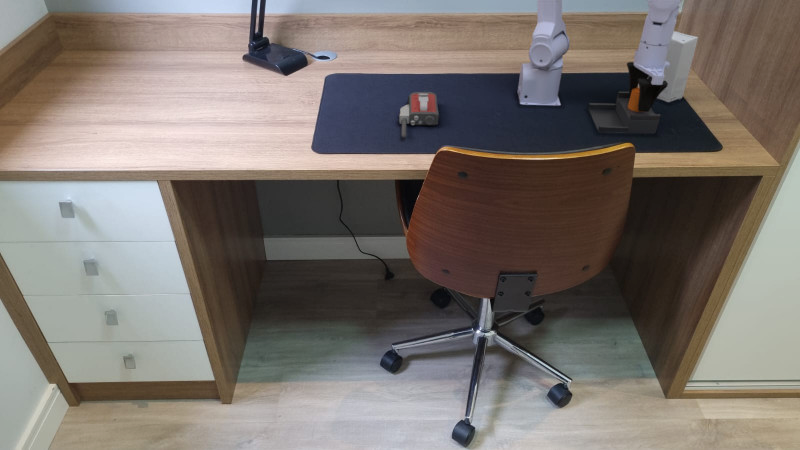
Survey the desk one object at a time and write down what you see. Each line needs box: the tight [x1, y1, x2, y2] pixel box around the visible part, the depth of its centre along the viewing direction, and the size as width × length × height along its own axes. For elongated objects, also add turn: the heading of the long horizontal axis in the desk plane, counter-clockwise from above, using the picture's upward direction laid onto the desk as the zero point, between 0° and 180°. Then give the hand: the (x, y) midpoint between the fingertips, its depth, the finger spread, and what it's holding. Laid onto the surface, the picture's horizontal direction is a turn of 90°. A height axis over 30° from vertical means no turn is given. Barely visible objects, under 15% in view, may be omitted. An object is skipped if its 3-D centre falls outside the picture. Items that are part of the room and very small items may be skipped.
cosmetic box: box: [647, 30, 699, 103], centre depth 133 cm, size 8×6×15 cm
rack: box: [587, 91, 661, 135], centre depth 125 cm, size 12×12×5 cm
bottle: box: [628, 83, 644, 112], centre depth 122 cm, size 4×4×6 cm
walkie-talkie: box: [398, 91, 440, 139], centre depth 126 cm, size 9×4×20 cm
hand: (638, 103), depth 123 cm, fingers open, 7 cm apart
